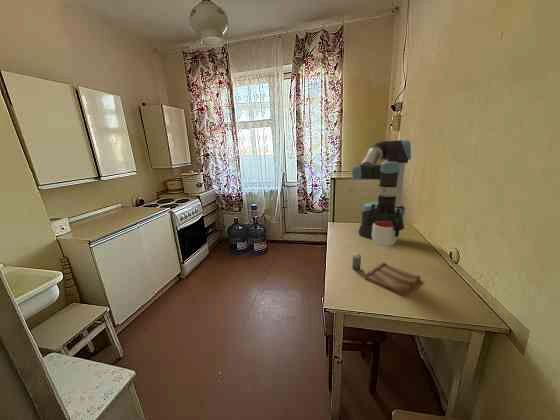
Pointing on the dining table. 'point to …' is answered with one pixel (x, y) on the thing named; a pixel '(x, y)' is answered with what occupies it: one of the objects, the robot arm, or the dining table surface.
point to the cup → (383, 233)
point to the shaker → (356, 261)
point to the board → (392, 278)
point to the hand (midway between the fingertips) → (383, 239)
